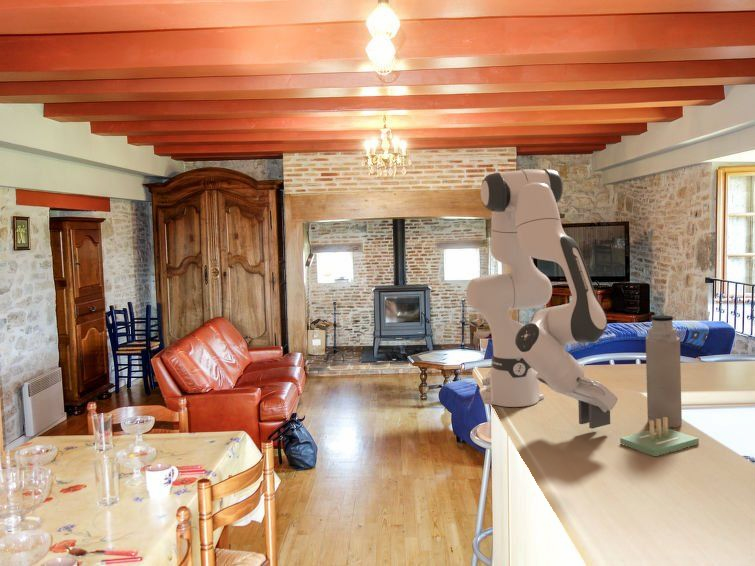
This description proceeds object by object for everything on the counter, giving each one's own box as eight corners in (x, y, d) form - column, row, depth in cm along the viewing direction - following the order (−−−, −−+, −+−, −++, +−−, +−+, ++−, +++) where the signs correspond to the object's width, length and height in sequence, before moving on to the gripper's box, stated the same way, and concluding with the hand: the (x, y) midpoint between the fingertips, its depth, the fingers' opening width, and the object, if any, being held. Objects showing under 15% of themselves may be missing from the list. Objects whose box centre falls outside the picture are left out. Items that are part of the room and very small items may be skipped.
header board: (655, 457, 135) (654, 430, 134) (620, 443, 144) (619, 419, 143) (698, 444, 140) (698, 419, 140) (662, 432, 149) (661, 408, 149)
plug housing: (592, 428, 149) (591, 396, 148) (579, 423, 153) (578, 392, 152) (610, 424, 151) (609, 392, 150) (597, 419, 155) (596, 388, 154)
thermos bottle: (646, 417, 161) (643, 313, 159) (679, 418, 159) (677, 313, 156) (649, 427, 154) (646, 318, 151) (684, 428, 151) (681, 318, 149)
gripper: (603, 373, 138) (635, 406, 143) (544, 356, 157) (574, 386, 162) (588, 395, 137) (621, 428, 142) (531, 376, 155) (561, 406, 160)
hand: (596, 406), depth 152 cm, fingers closed on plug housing, 4 cm apart
